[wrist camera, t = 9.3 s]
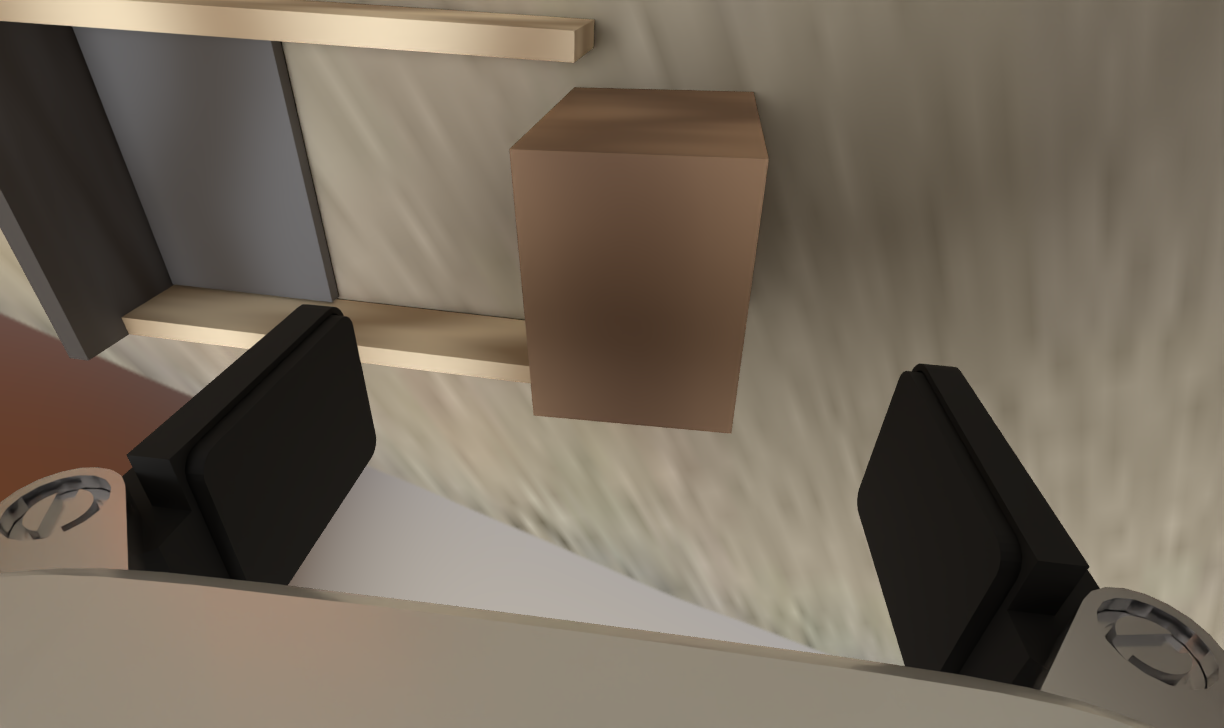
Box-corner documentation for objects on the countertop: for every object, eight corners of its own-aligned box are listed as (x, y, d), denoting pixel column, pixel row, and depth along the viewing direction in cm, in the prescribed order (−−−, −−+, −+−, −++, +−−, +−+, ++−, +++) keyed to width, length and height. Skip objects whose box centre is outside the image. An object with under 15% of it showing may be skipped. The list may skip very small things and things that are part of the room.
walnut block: (753, 91, 15) (769, 159, 10) (728, 305, 19) (731, 433, 14) (574, 87, 16) (509, 149, 11) (582, 295, 19) (533, 415, 14)
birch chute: (594, 19, 15) (559, 39, 12) (586, 343, 20) (559, 420, 17) (45, -17, 16) (-126, -9, 13) (169, 295, 21) (69, 357, 18)
